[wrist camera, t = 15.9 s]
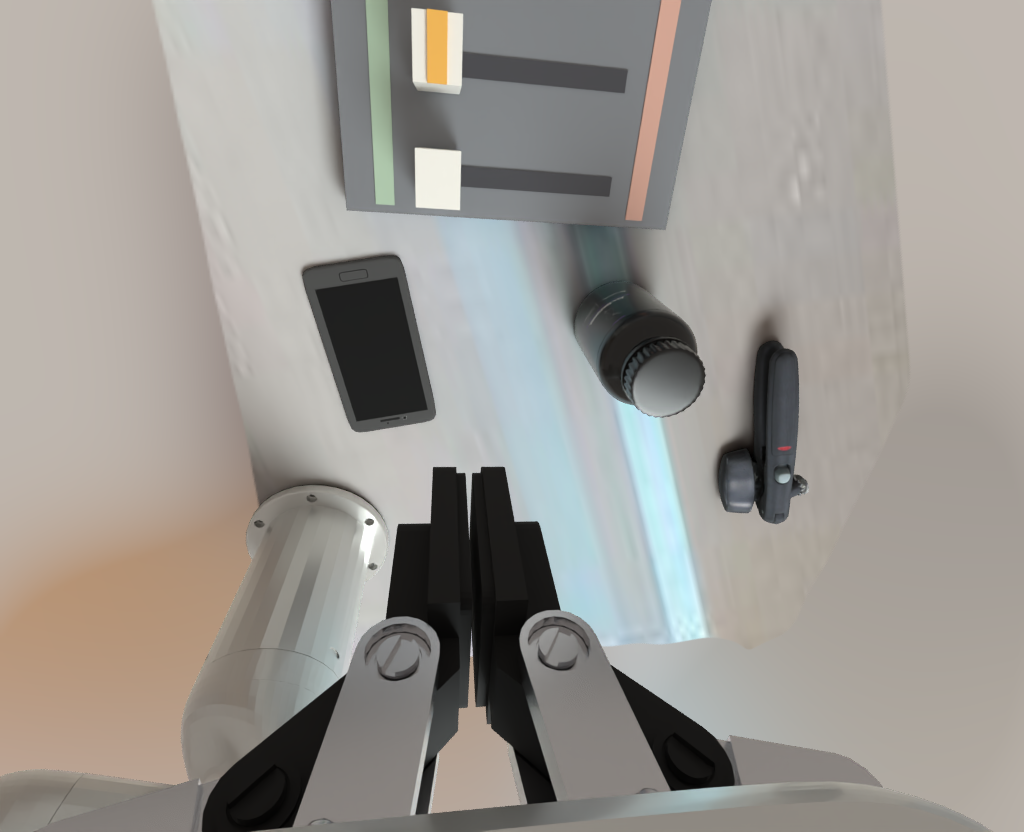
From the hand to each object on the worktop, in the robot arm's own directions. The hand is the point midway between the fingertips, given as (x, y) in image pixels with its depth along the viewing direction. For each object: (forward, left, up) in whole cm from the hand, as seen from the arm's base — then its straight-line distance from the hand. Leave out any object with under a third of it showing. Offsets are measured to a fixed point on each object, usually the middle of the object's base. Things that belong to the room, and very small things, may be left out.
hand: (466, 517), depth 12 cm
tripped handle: (+12, +1, -27) cm, 29 cm away
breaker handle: (+6, +1, -27) cm, 27 cm away
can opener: (-14, -29, -30) cm, 43 cm away
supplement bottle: (-4, -13, -29) cm, 32 cm away
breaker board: (+12, -4, -29) cm, 32 cm away
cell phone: (-7, +6, -30) cm, 31 cm away
